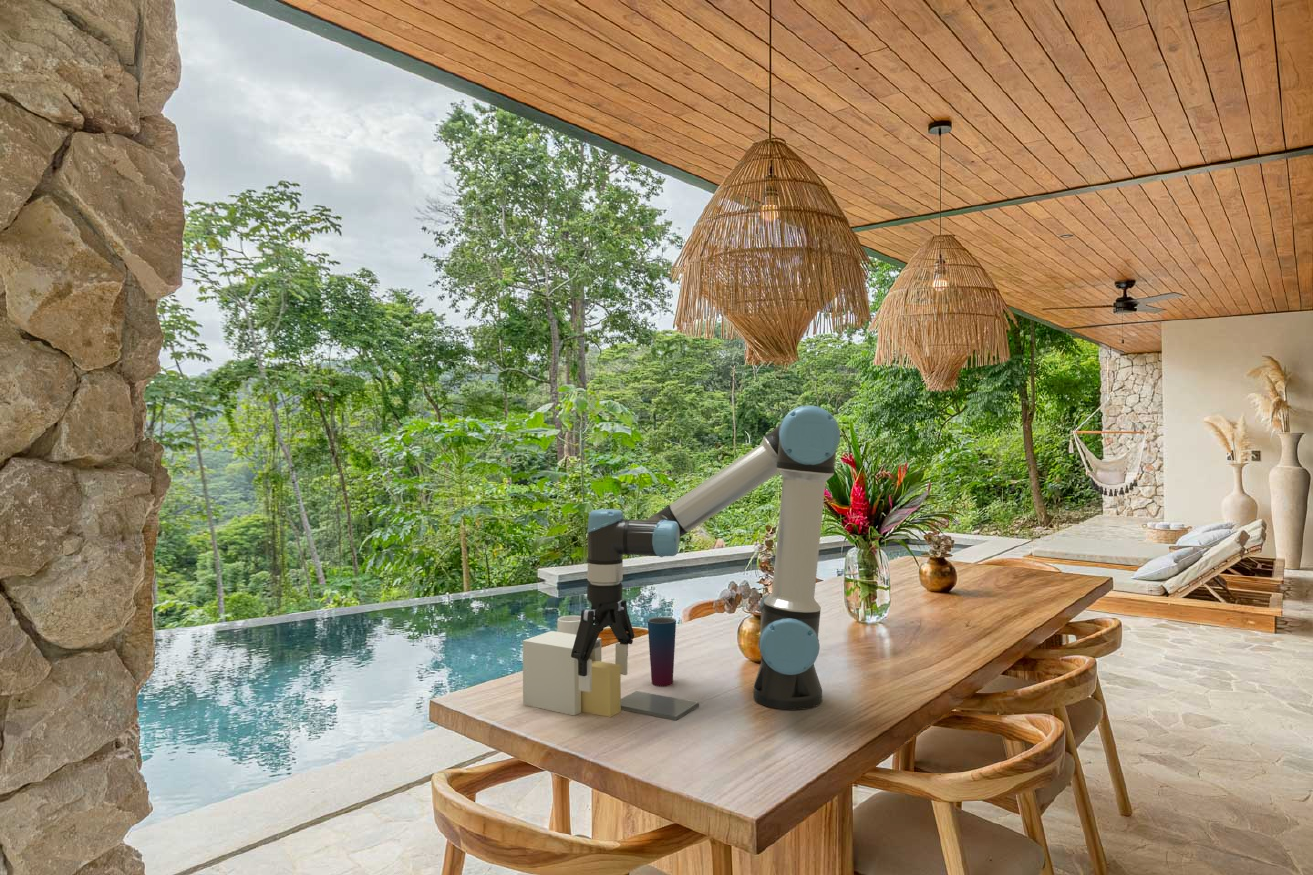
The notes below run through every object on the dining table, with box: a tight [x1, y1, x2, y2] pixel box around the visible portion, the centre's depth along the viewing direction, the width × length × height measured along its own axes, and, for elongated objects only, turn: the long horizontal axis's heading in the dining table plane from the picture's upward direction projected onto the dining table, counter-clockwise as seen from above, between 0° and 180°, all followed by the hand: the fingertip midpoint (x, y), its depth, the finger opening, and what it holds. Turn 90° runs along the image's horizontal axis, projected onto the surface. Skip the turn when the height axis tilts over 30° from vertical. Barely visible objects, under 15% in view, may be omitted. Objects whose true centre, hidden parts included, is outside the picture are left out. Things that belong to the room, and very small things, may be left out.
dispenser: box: [522, 630, 602, 717], centre depth 172 cm, size 15×10×14 cm
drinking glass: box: [556, 615, 581, 635], centre depth 188 cm, size 7×7×15 cm
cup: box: [647, 616, 677, 687], centre depth 185 cm, size 7×7×15 cm
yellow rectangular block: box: [581, 660, 622, 718], centre depth 168 cm, size 14×4×10 cm, turn 59°
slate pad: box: [621, 690, 700, 721], centre depth 169 cm, size 16×10×1 cm, turn 59°
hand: (603, 682), depth 166 cm, fingers open, 13 cm apart
